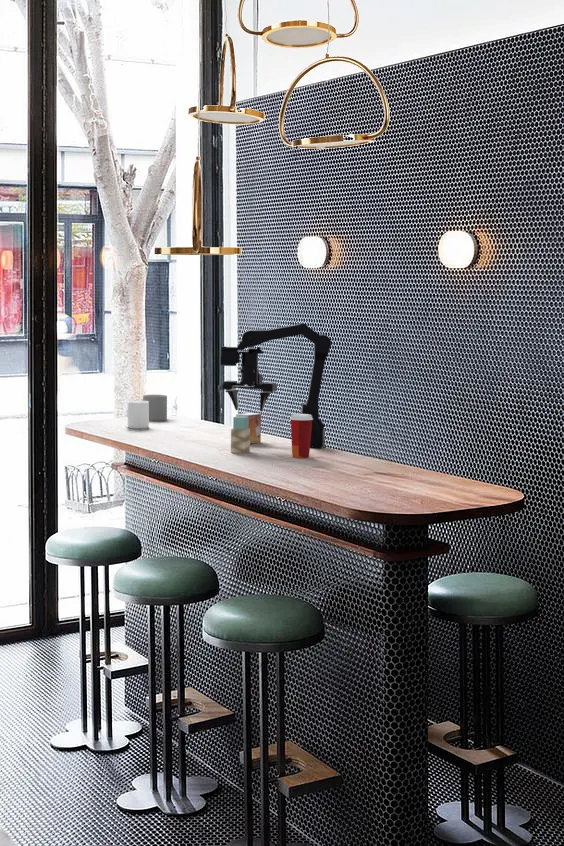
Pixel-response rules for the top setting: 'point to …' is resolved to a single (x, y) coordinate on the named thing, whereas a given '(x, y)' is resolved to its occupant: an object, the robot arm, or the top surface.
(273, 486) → the top surface
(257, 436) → the small box
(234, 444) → the birch lower block
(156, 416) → the coffee mug
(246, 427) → the teal cube
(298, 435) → the paper cup
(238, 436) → the birch upper block
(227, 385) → the robot arm
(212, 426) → the top surface
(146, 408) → the mug
